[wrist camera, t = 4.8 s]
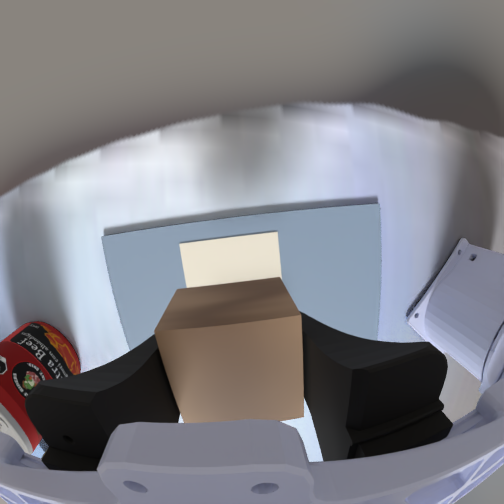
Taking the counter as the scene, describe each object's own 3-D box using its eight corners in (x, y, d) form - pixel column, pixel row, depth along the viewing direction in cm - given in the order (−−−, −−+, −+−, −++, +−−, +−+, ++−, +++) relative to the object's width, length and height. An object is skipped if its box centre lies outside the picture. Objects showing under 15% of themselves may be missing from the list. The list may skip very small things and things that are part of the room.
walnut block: (279, 276, 12) (301, 314, 8) (286, 362, 13) (303, 416, 9) (177, 288, 12) (153, 330, 8) (196, 372, 13) (186, 428, 9)
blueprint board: (377, 203, 19) (380, 203, 18) (370, 372, 22) (373, 375, 21) (103, 235, 18) (100, 237, 17) (151, 401, 21) (150, 405, 21)
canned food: (97, 372, 20) (45, 458, 9) (57, 394, 21) (11, 461, 10) (45, 303, 19) (-36, 364, 8) (12, 336, 19) (-50, 390, 8)
